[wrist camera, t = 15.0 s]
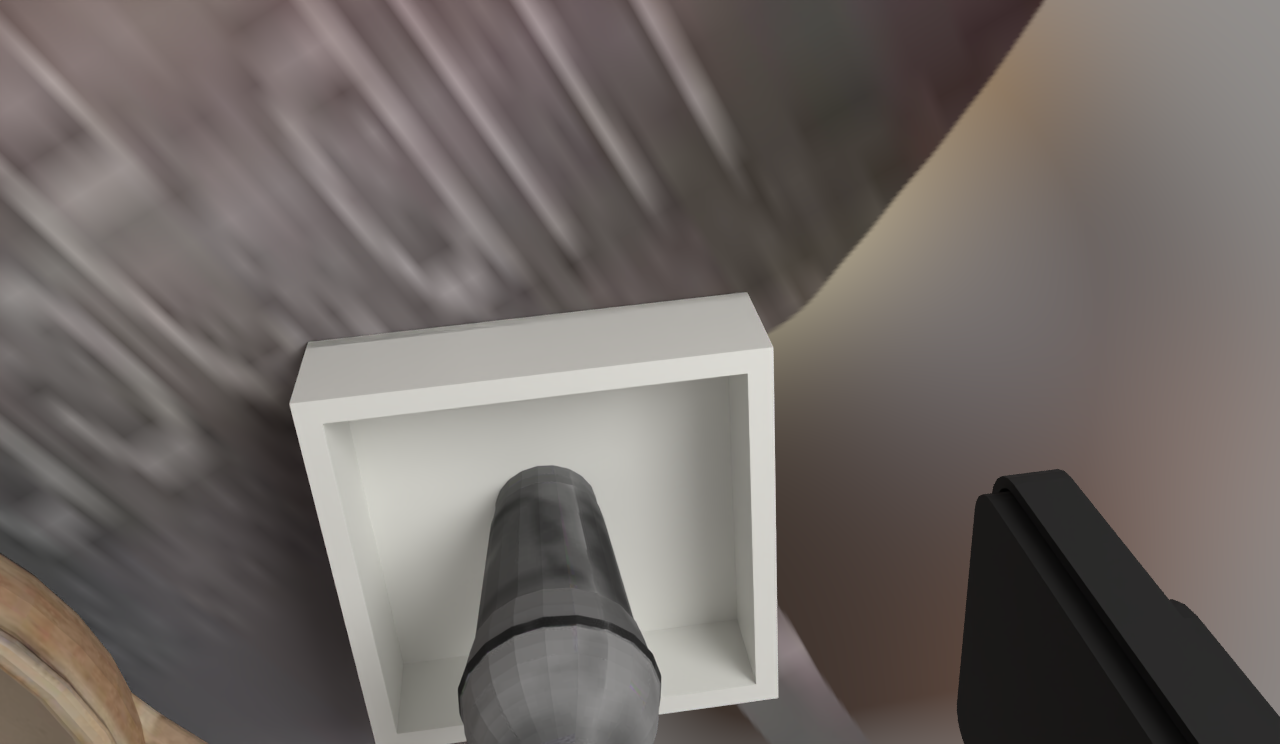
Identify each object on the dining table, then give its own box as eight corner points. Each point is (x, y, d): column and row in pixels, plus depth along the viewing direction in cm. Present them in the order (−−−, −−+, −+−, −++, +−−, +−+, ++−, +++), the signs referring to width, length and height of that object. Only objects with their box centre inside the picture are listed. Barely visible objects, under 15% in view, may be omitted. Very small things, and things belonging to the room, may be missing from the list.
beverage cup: (654, 531, 52) (739, 927, 34) (513, 596, 53) (525, 1016, 35) (582, 411, 48) (635, 783, 31) (431, 482, 49) (401, 885, 32)
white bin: (308, 341, 46) (289, 403, 42) (747, 292, 47) (773, 347, 43) (386, 673, 55) (378, 753, 50) (755, 624, 56) (778, 697, 52)
